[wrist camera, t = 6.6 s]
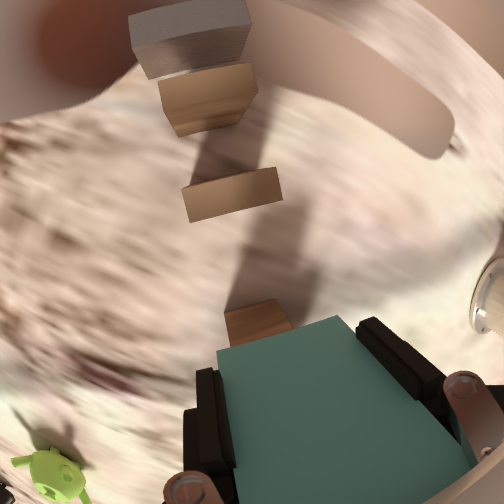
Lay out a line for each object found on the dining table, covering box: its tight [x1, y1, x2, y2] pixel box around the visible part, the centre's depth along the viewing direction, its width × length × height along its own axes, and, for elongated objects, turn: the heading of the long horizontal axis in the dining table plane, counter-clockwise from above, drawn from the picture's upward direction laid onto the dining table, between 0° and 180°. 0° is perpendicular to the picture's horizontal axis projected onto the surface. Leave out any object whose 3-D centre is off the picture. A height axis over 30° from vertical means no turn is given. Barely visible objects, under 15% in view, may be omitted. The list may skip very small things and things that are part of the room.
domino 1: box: [158, 62, 258, 138], centre depth 18 cm, size 2×5×10 cm, turn 102°
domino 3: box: [224, 299, 294, 347], centre depth 23 cm, size 2×5×10 cm, turn 103°
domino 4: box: [216, 315, 471, 504], centre depth 7 cm, size 2×5×10 cm, turn 103°
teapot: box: [11, 447, 92, 504], centre depth 25 cm, size 11×12×8 cm
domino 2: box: [181, 167, 283, 223], centre depth 20 cm, size 2×5×10 cm, turn 103°
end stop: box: [128, 0, 252, 80], centre depth 18 cm, size 8×3×7 cm, turn 103°
